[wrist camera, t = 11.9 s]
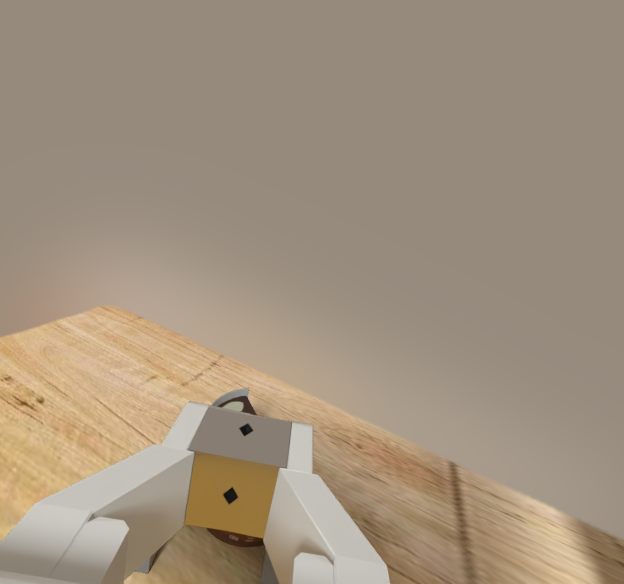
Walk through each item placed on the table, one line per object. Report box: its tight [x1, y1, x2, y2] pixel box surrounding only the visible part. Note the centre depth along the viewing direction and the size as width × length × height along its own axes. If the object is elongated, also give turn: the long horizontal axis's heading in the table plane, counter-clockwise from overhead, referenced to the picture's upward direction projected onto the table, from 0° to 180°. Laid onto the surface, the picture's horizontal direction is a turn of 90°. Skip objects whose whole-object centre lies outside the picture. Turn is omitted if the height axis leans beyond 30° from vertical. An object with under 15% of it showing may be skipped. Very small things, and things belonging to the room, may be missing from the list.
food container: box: [207, 388, 264, 547], centre depth 35 cm, size 12×6×10 cm, turn 25°
